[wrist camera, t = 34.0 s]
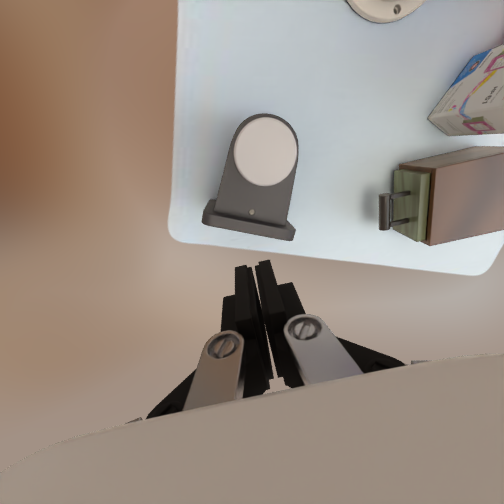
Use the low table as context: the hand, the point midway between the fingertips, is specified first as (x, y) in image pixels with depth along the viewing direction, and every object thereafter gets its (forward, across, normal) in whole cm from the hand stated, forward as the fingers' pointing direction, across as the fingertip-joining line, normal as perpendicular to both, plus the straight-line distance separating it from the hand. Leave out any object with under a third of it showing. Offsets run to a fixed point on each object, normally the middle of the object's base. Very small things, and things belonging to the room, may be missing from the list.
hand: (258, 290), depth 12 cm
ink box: (+27, -32, -6) cm, 42 cm away
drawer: (+26, -25, +6) cm, 37 cm away
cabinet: (+27, -29, +6) cm, 40 cm away
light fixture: (+27, -2, -2) cm, 27 cm away
